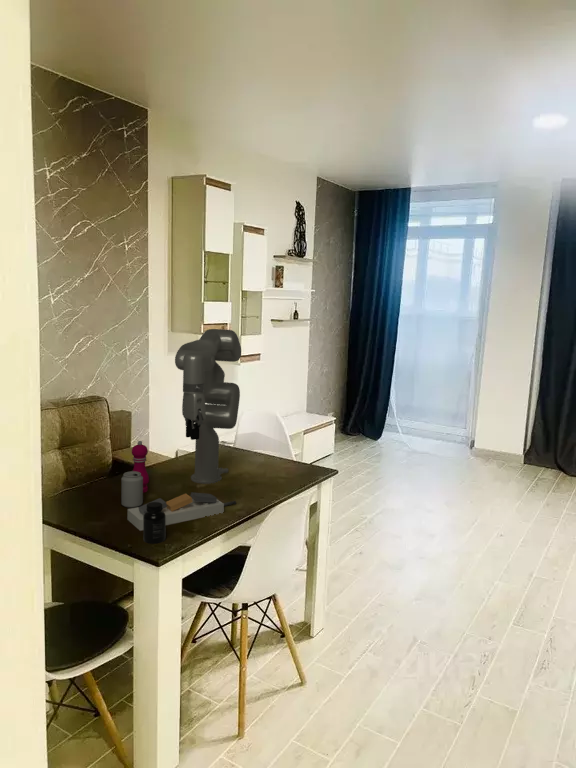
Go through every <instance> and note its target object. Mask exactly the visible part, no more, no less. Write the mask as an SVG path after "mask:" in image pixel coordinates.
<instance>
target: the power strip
mask: <svg viewBox="0 0 576 768" xmlns="http://www.w3.org/2000/svg"><path fill="white" fill-rule="evenodd" d="M192 501H193V502H192V503H189V504H187V505H185V506H183V507H181V508H178V509H176V510H174V511H170V510H169V509H168V508H167V507H166V508H163V510H162V511H163V512H164V513H165V515H166V526H169V525H175V524H179V523H183V522H187V521H193V520H197V519H201V518H206V517H205V516H207V517H211V516H215V515H214V514H216V515H219V513H221V514H224V513H223V512H224V511H225V509H224V508H225V507H227V506H228V505H229V506H233V505H232V504H234V505H236V504H237V501H236V500H233V501H228V502H222V501H220V500H219V499H217V500H216V503H210V502H197V501H195V500H193V499H192ZM138 507H139V506H138ZM138 507H135V508H127V518H126V519H127V521H128V522H129V523H131V524H132V525H133V526H134V527H135V528H136V529H137V530H139V531H140V532H141V531H143V516H144V515H142V514H141V513H140V512H139V508H138ZM210 515H211V516H210Z"/></svg>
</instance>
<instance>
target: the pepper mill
mask: <svg viewBox="0 0 576 768" xmlns="http://www.w3.org/2000/svg"><path fill="white" fill-rule="evenodd" d="M148 452H149V451H148V447H147V446H146V445H145V444H143V441H141V440H138V441H137V444H135V445H134V446H133V447H132V449H131V456H133V457H132V458H133V459H132V461H133V469H132V471H136V472H140V473H141V476H142V477H143V494H144V493H146V492H148V489H149V486H148V484H149V483H150V476H149V473H148V471H147V469H146V468H147V467H146V461H147V455H148Z"/></svg>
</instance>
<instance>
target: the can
mask: <svg viewBox="0 0 576 768" xmlns="http://www.w3.org/2000/svg"><path fill="white" fill-rule="evenodd" d="M120 480H121V481H120V482H121V483H120V484H121V486H120V487H121V493H120V494H121V497H120V499H121V505H122V506H123V507H125V508H127V509H131V508H137V507H140V506H142V505H143V503H144V501H143V500H144V493H143V477H142V476H141V473H140V472H136V471H133V470H131V471H127V472H124V473H123V475H122V477H121V479H120Z"/></svg>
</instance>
